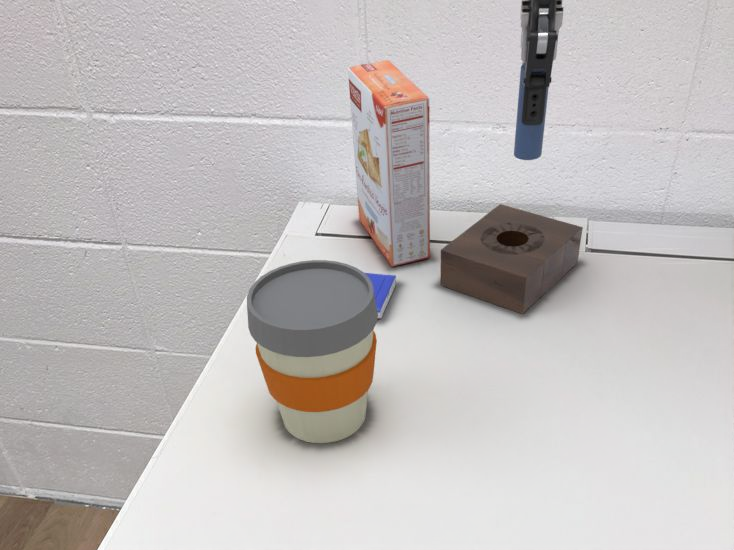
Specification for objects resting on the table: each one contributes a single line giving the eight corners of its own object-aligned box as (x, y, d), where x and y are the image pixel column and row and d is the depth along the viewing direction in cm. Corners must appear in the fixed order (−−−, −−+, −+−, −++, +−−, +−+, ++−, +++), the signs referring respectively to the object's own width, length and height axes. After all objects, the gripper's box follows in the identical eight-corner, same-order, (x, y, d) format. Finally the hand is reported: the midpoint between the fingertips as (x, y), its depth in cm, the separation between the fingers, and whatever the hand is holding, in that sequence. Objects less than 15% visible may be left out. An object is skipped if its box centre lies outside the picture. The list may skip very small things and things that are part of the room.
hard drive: (283, 299, 99) (380, 309, 97) (303, 265, 105) (396, 273, 102) (285, 310, 101) (380, 320, 98) (305, 275, 106) (396, 284, 103)
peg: (522, 146, 90) (530, 59, 83) (546, 152, 88) (556, 64, 82) (508, 156, 88) (515, 68, 82) (532, 162, 87) (541, 73, 80)
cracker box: (356, 222, 115) (345, 65, 100) (395, 213, 116) (391, 57, 101) (388, 269, 106) (382, 104, 91) (431, 259, 107) (432, 94, 92)
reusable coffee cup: (407, 412, 86) (404, 288, 75) (320, 473, 80) (304, 349, 69) (327, 365, 92) (314, 245, 81) (242, 418, 86) (216, 297, 76)
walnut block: (497, 238, 110) (500, 203, 106) (577, 263, 104) (583, 227, 100) (440, 285, 102) (440, 249, 99) (522, 314, 97) (526, 277, 93)
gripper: (598, -62, 68) (570, 144, 80) (587, -98, 77) (564, 91, 90) (508, -59, 69) (495, 145, 81) (508, -95, 78) (496, 92, 91)
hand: (531, 116), depth 85 cm, fingers closed on peg, 3 cm apart
